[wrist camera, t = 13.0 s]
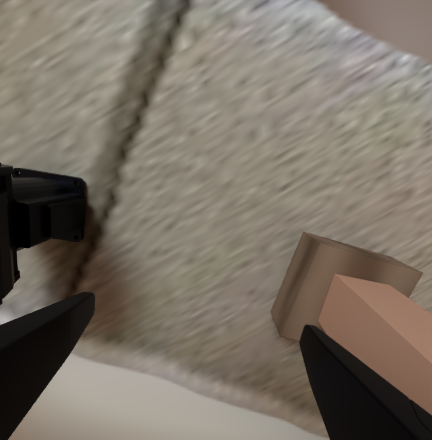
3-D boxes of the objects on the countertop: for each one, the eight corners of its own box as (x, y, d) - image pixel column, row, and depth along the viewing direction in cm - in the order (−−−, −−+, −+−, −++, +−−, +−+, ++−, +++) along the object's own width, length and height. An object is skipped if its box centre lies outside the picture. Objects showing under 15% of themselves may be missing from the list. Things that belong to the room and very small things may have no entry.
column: (318, 320, 20) (481, 584, 7) (334, 273, 19) (565, 486, 6) (369, 331, 20) (626, 614, 7) (389, 284, 19) (738, 523, 6)
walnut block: (269, 309, 24) (280, 336, 20) (301, 230, 22) (320, 243, 18) (348, 329, 25) (373, 359, 21) (387, 255, 22) (422, 272, 19)
